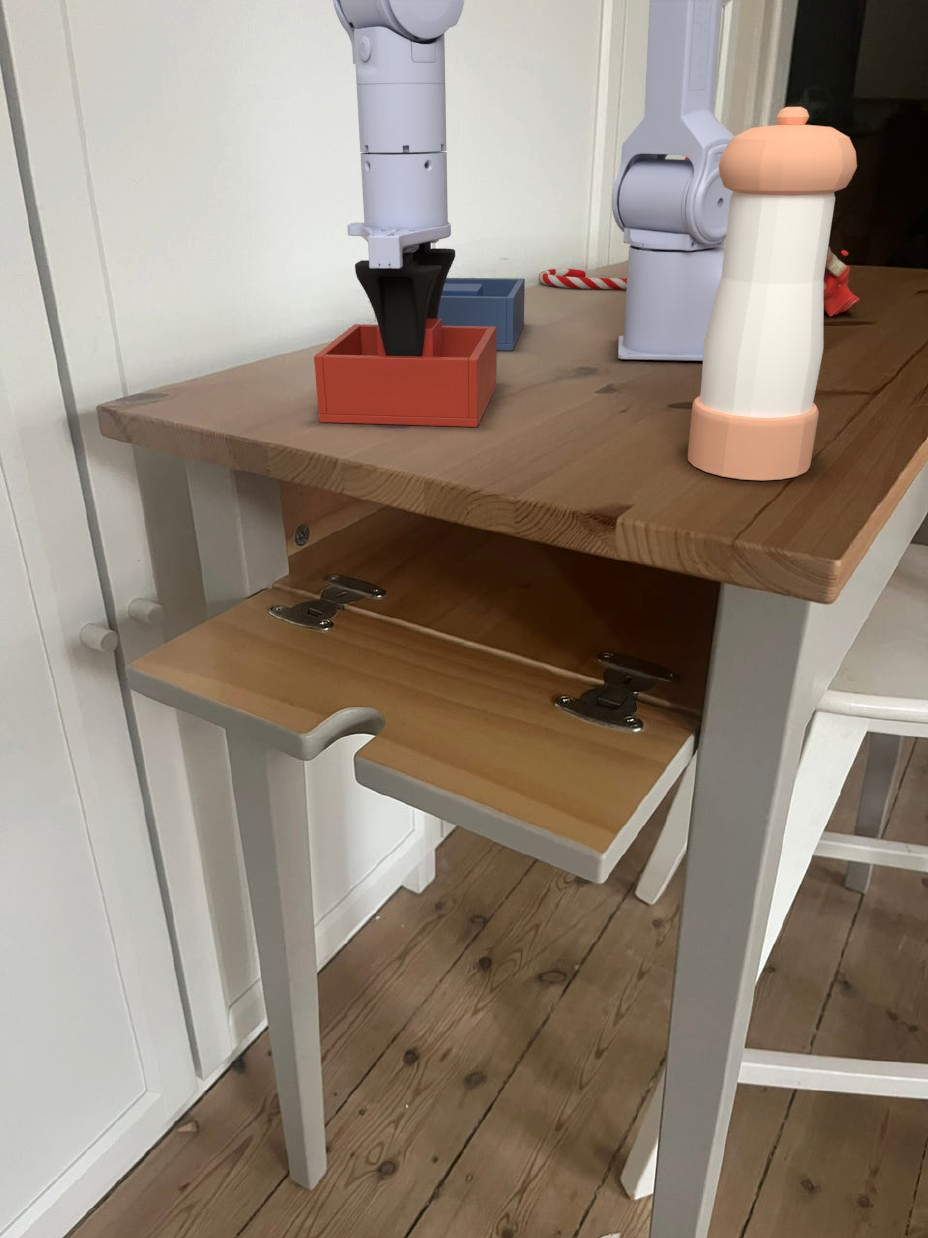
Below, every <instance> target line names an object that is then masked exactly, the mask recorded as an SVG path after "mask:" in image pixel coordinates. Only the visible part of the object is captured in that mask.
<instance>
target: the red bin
mask: <svg viewBox="0 0 928 1238" xmlns="http://www.w3.org/2000/svg"><path fill="white" fill-rule="evenodd" d="M378 327H379V326H378V324H366V323H364V324H363V323H362V324H360V323H359V324H358V323H355V324H353V325H352V326H350V327H349V328H348V329H346V330H345V331H344V332H342V334H340V335H338V336H337V337H336V338H335V339H334V340H332V341H331V342H330V343H329V344H328V345H326V346H325V347H324V348H322V349H321V350H320V351H318V352H317V353H316V354H315V355H314V356H313V360H314V361H313V362H314V373H315V375H314V376H315V385H316V386H315V387H316V397H317V398H316V399H317V409H318V410H317V411H318V421H319V423H329V424H330V423H331V424H332V423H333V424H363V425H365V424H367V425H368V424H369V425H397V426H398V425H399V426H426V427H427V426H431V427H433V426H434V427H463V428H465V427H466V428H478V426H479V424H480V422H481V420H482V418H483V415H484V413H485V411H486V410H487V407H488V405H489V402H490V400H491V399H492V396H493V394H494V392H495V390H496V387H497V350H496V347H497V327H495V326H489V327H488V326H442V352H443V357H419V356H378V349H377V328H378Z"/></svg>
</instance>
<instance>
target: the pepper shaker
mask: <svg viewBox="0 0 928 1238" xmlns="http://www.w3.org/2000/svg"><path fill="white" fill-rule="evenodd" d="M809 118H810V114H809V112H808V110H807V109H806V108H804V107H803V106H786V107H784V108H782V109H780V111H779V112H778V113H777V115H776V121H777V124H773V125H764V126H756V127H755V126H754V127H750V128H748V129H747V130H745V131H742V132H741V133H739V134H737V135H734V136H735V137H733V138H732V140H731V141H730V143H729V144H728V145H727V147H726V148H725V150H724V151H723V154H722V157H721V160H720V163H719V172H720V177H721V180H722V183H723V186H724V187H725V188H727V189H729V190H732V191H733V193H732V195H731V198H730V207H729V216H728V224H727V233H726V242H725V250H724V259H723V268H722V275H721V279H720V283H719V287H718V291H717V295H716V299H715V302H714V306H713V310H712V314H711V318H710V322H709V326H708V329H707V333H706V337H705V341H704V353H703V361H702V367H701V368H702V369H701V381H700V394H699V395H698V396H697V397H696V398H695V399H694V400H693V401H692V405H691V406H692V408H691V417H690V425H689V426H690V428H689V437H688V447H687V461H688V462H689V463H690V464H691V465H692V466H693V467H695V468H696V469H699V470H701V471H703V472H706V473H709V474H712V475H716V476H719V477H722V478H723V477H724V478H729V479H730V478H731V479H737V480H748V481H775V480H777V481H778V480H785V479H786V480H787V479H790V478H797V477H798V476H801V475H803V474H804V473H806V472H807V471H808V470H809V469H810V468H811V466H812V465H811V464H812V459H813V453H814V445H815V441H816V434H817V427H818V421H819V415H820V413H819V409H818V406H817V404H816V403H814V401H815V395H816V390H817V385H818V380H819V375H820V369H821V365H822V364H821V363H822V359H823V358H822V357H823V354H824V344H825V343H824V342H825V341H824V340H825V339H824V337H825V335H824V332H825V331H824V330H825V329H824V326H825V325H824V319H825V318H824V317H825V315H824V313H825V310H824V272H825V265H826V258H827V251H828V246H830V245H829V244H830V237H831V230H832V222H833V217H834V210H835V204H836V203H835V202H836V196H835V192H837V191H840V190H843V189H845V188H847V186H848V185H849V184H850V182H851V180H852V179H853V176H854V174H855V172H856V170H857V168H858V162H857V152H856V149H855V147H854V145H853V143H852V139H851V138H850V136H848V135H847V134H844V133H842V132H840V131H839V130H838V129H836V128H834V127H832V126H824V125H812V124H806V123H807V122H808V120H809Z"/></svg>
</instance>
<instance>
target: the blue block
mask: <svg viewBox="0 0 928 1238" xmlns="http://www.w3.org/2000/svg"><path fill="white" fill-rule="evenodd" d="M441 296H483V284H444V287H443V291H442V295H441Z"/></svg>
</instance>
